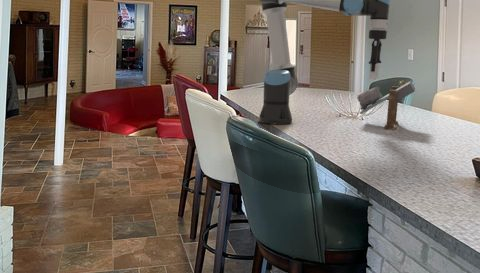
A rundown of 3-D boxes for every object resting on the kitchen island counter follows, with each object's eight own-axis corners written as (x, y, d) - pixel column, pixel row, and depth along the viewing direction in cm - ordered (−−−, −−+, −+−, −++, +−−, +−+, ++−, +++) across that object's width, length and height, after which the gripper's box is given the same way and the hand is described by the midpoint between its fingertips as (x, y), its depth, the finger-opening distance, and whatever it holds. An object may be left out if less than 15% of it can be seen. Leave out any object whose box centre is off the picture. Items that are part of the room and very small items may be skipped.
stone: (384, 97, 205) (376, 84, 206) (360, 111, 211) (352, 98, 211) (386, 95, 213) (378, 82, 213) (363, 109, 218) (355, 96, 218)
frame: (383, 129, 201) (386, 90, 198) (387, 121, 222) (390, 86, 218) (395, 130, 200) (399, 90, 196) (398, 122, 220) (401, 86, 216)
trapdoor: (364, 120, 206) (359, 112, 207) (368, 115, 221) (364, 108, 221) (414, 91, 197) (409, 83, 197) (415, 88, 212) (410, 80, 212)
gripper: (384, 29, 193) (380, 80, 197) (388, 31, 216) (384, 77, 220) (366, 28, 195) (361, 79, 199) (372, 30, 218) (368, 76, 222)
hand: (373, 78), depth 210 cm, fingers open, 13 cm apart
